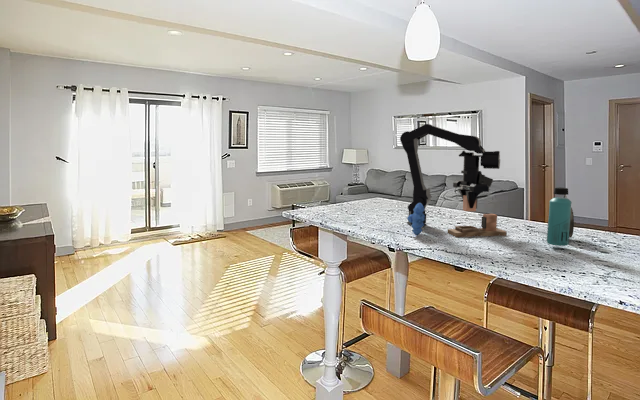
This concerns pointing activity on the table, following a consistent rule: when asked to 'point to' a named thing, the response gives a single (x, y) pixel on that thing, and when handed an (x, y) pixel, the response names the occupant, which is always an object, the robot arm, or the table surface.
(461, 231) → the rail
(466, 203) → the salmon and grey block
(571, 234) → the alarm clock
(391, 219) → the table surface
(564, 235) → the beverage bottle
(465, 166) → the robot arm
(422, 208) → the grapes
